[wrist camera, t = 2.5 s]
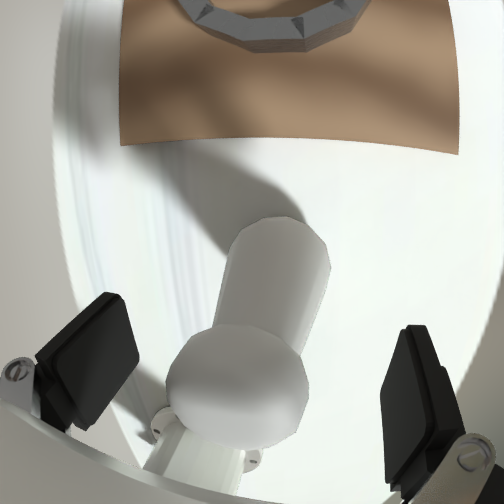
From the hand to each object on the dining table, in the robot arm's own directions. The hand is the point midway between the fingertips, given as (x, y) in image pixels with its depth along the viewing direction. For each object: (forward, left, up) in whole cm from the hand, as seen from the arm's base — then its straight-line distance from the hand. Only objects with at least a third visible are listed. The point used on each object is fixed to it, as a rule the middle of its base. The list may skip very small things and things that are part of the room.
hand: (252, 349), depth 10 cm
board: (+12, +11, -10) cm, 19 cm away
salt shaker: (-1, 0, -11) cm, 11 cm away
